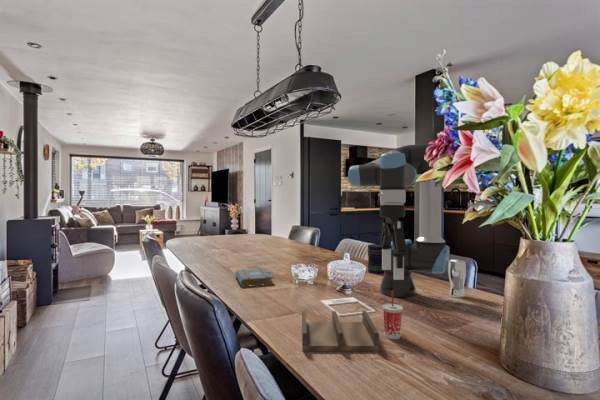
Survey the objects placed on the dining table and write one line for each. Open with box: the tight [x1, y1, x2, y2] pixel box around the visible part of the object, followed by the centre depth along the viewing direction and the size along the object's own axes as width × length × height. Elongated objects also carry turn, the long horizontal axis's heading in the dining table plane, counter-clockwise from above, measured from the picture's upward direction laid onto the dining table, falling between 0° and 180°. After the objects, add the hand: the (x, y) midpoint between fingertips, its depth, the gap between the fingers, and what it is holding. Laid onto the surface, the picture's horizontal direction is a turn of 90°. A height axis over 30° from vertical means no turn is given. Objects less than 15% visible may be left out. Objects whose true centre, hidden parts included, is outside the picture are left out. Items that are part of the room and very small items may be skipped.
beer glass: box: [447, 258, 467, 299], centre depth 146 cm, size 7×7×15 cm
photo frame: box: [320, 296, 376, 318], centre depth 132 cm, size 15×1×18 cm
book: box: [235, 267, 275, 287], centre depth 173 cm, size 21×16×5 cm
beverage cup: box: [381, 290, 404, 340], centre depth 104 cm, size 6×6×14 cm
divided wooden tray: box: [301, 310, 380, 352], centre depth 103 cm, size 21×18×5 cm
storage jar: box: [367, 243, 384, 275], centre depth 192 cm, size 10×10×15 cm
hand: (392, 274), depth 104 cm, fingers open, 13 cm apart
